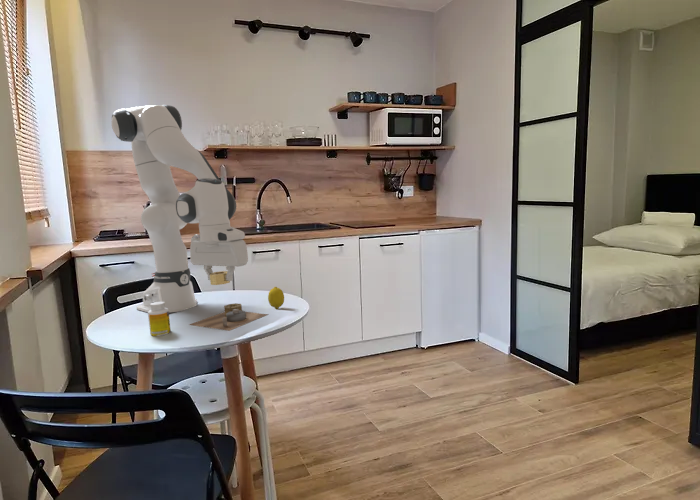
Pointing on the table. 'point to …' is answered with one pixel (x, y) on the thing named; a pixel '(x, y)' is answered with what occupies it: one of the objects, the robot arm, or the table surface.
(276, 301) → the lemon
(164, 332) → the supplement bottle
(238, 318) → the plate
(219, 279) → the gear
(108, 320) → the table surface
